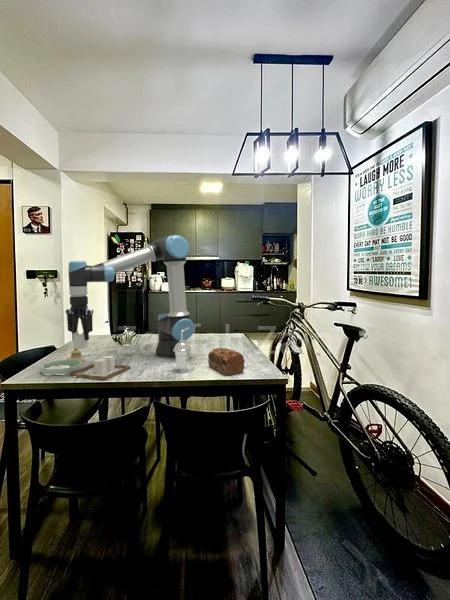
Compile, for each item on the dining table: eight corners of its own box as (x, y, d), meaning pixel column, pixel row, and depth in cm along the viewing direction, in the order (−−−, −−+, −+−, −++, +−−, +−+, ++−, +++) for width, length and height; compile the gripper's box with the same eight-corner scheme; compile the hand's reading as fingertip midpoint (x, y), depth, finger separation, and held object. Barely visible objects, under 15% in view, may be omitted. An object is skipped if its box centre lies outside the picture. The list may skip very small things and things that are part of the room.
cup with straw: (170, 369, 170) (169, 328, 168) (188, 366, 174) (187, 326, 173) (177, 374, 162) (176, 330, 161) (195, 371, 167) (194, 328, 165)
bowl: (89, 367, 176) (89, 361, 175) (62, 377, 159) (62, 371, 159) (61, 364, 181) (61, 358, 181) (32, 374, 165) (32, 367, 165)
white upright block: (114, 368, 174) (114, 356, 173) (111, 370, 170) (110, 358, 169) (107, 368, 174) (106, 355, 174) (103, 370, 170) (102, 357, 170)
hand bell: (78, 363, 182) (77, 333, 181) (64, 363, 184) (62, 332, 183) (88, 359, 191) (86, 330, 189) (74, 359, 192) (72, 329, 191)
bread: (245, 373, 163) (244, 352, 162) (224, 376, 158) (223, 354, 157) (226, 364, 179) (226, 344, 179) (207, 366, 175) (207, 346, 174)
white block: (107, 371, 168) (106, 359, 167) (102, 374, 164) (101, 361, 163) (99, 371, 169) (98, 358, 168) (94, 373, 165) (94, 360, 164)
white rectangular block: (87, 347, 163) (87, 334, 163) (80, 349, 159) (80, 335, 159) (80, 346, 165) (80, 333, 164) (73, 348, 161) (73, 335, 160)
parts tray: (130, 368, 172) (130, 365, 172) (104, 380, 154) (104, 377, 154) (97, 365, 178) (97, 362, 178) (68, 376, 161) (68, 373, 161)
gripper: (100, 295, 161) (102, 346, 163) (69, 294, 166) (71, 344, 168) (88, 296, 154) (91, 350, 156) (56, 296, 159) (59, 347, 161)
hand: (80, 346), depth 162 cm, fingers closed on white rectangular block, 4 cm apart
